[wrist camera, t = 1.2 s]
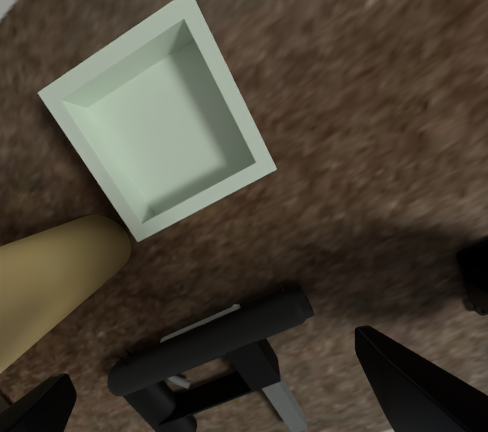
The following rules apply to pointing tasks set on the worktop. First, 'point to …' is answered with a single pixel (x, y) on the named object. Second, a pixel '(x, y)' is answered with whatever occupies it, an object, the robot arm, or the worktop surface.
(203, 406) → the door handle
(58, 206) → the worktop surface
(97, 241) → the tan rounded cylinder
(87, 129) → the tray
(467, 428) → the robot arm
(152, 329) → the worktop surface
